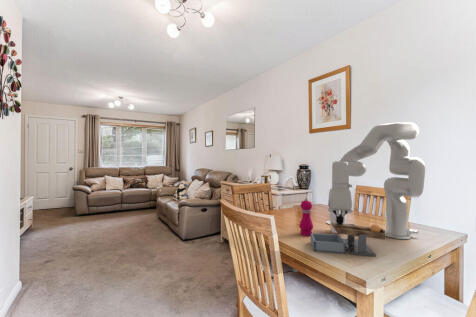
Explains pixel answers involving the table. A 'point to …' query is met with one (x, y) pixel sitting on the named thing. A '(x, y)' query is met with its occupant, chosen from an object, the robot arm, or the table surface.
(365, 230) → the tray
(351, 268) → the table surface
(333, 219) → the cup
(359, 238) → the stand
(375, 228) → the ball
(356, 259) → the table surface
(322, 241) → the bin
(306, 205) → the pepper mill
